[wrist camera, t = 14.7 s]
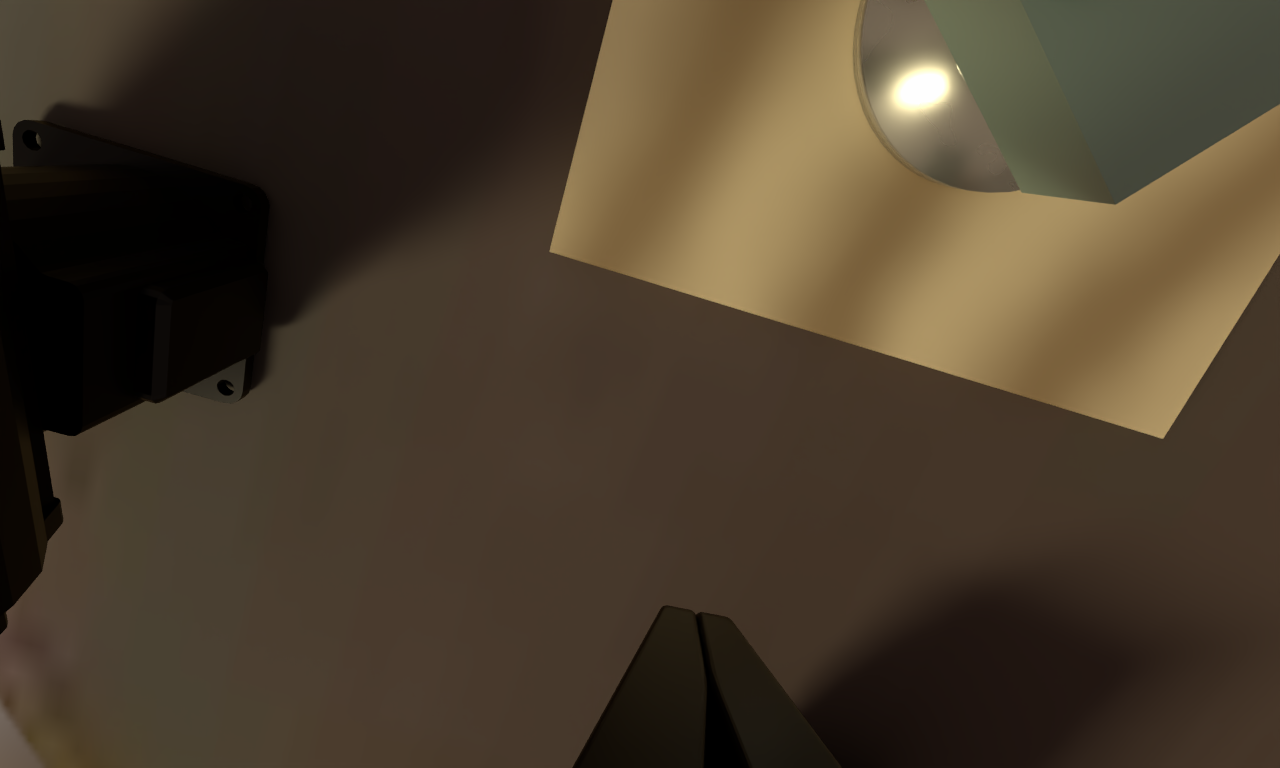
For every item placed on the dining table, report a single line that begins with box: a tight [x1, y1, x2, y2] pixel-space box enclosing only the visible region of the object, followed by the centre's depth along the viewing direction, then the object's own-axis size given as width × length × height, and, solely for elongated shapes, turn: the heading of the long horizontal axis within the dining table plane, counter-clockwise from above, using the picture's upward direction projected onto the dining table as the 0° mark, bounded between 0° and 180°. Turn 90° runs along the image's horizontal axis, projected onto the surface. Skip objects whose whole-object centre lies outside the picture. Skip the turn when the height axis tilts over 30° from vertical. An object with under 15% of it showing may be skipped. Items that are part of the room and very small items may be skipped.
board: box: [549, 0, 1280, 439], centre depth 16 cm, size 18×16×1 cm
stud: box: [853, 0, 1020, 193], centre depth 14 cm, size 7×7×3 cm
